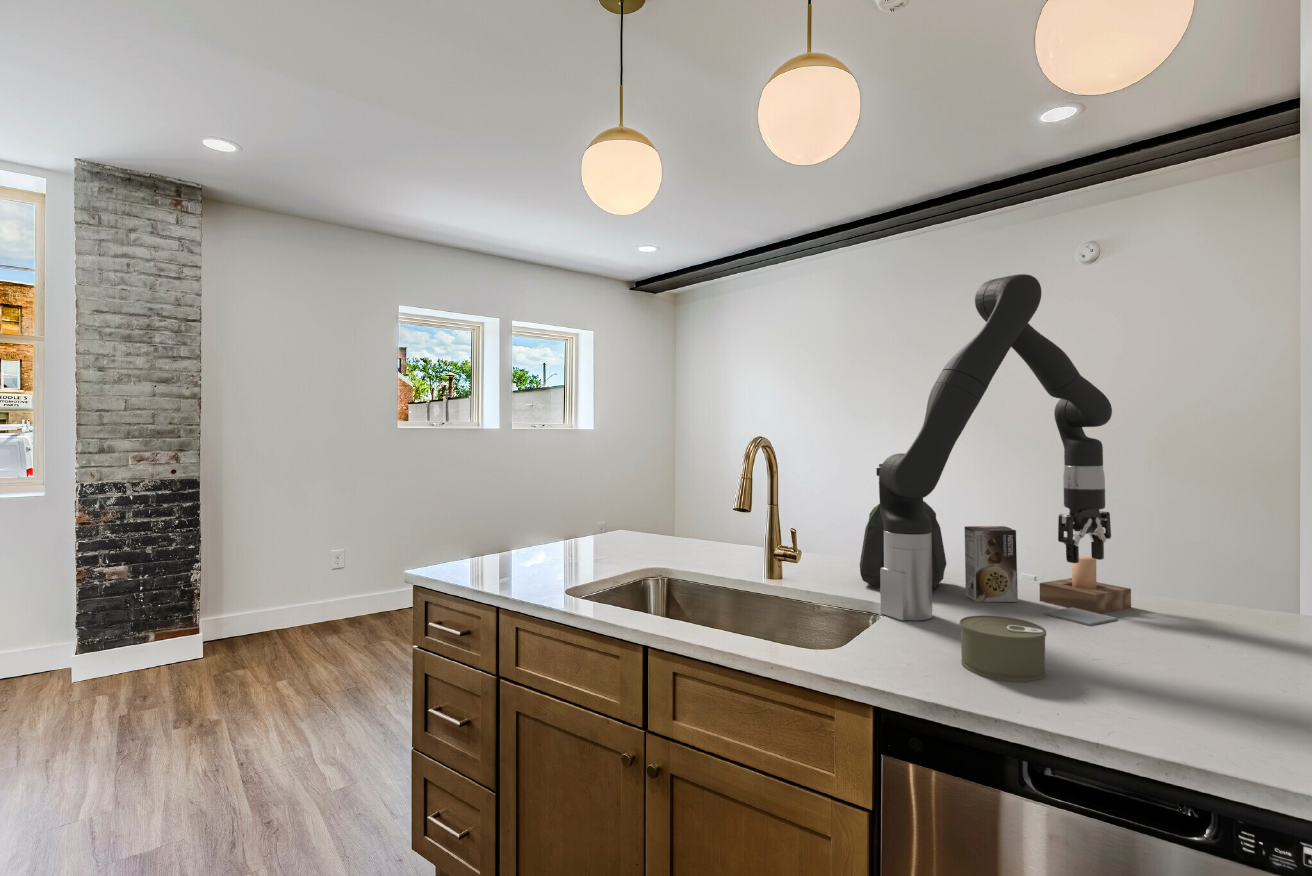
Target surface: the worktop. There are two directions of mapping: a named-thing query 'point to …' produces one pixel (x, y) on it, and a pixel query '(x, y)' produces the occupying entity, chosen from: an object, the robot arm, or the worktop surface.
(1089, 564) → the peach orange cylinder
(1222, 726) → the worktop surface
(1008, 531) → the coffee box
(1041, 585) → the bore block
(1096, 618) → the rubber mat
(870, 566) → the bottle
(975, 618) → the can
